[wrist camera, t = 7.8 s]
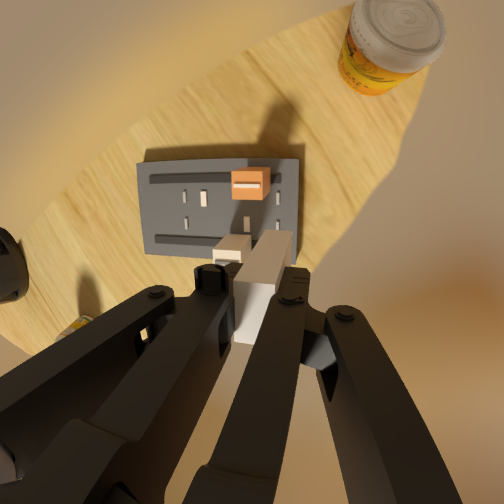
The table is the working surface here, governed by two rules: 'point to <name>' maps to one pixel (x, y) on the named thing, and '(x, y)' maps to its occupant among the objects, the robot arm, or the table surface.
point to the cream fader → (232, 249)
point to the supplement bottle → (74, 326)
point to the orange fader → (250, 183)
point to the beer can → (390, 43)
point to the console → (212, 204)
